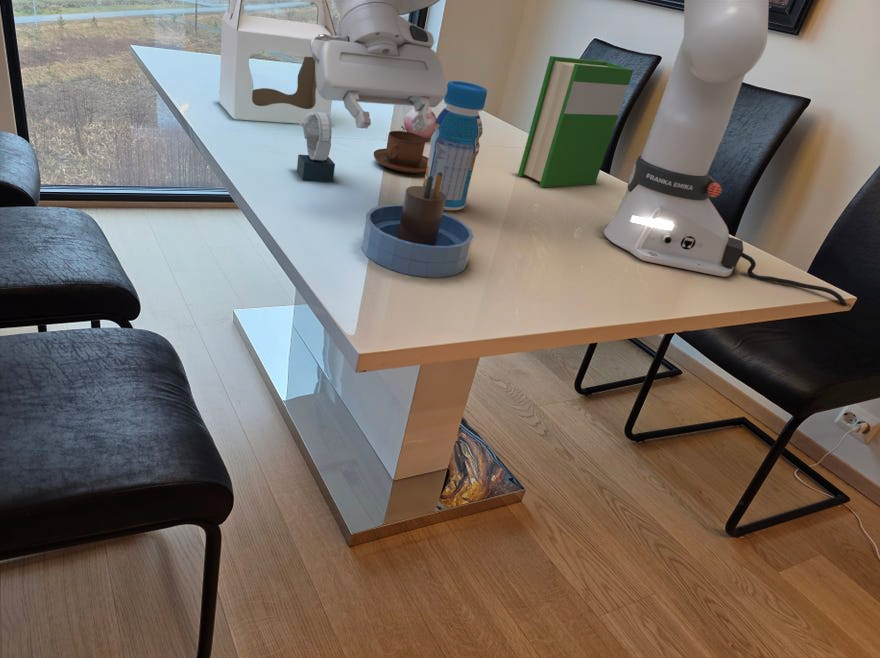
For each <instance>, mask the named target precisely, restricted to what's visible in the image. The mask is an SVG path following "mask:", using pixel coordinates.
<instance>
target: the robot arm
mask: <svg viewBox="0 0 880 658" xmlns="http://www.w3.org/2000/svg"><path fill="white" fill-rule="evenodd" d="M683 1H684V4H683V5H684V6H683V7H684V8H683V38H682V40H681V44H680V46H679V48H678V52H677V55H676V57H675V61H674V63H673V66H672V69H671V72H670V74H669V77H668V80H667V83H666V85H665V89H664V92H663V94H662V97H661V100H660V103H659V106H658V109H657V111H656V114H655V117H654V120H653V123H652V125H651V128H650V131H649V133H648V136H647V139H646V141H645V144H644V147H643V150H642V153H641V155H639V156H637V158H636V162H635V163H634V165H633V167H632V170H631V173H630V176H629V178H628V182H627V186H626V189H627V190H626V192H625V194H624V197H623V199H622V200H621V203H620V204H619V206H618V208H617V210H616V212H615V214H614V215H613V217H612V219H611V220H610V222H609V223H608V224H607V226H606V227H605V229H604V230H603V234H604V236H605V238H606V239H608V240H609V241H610V242H612V243H613V244H614V245H616V246H618V247H619V248H621V249H624V250H625V251H627V252H629V253H631V254H632V255H633V256H635V257H636V258H637V259H639V260H641V261H643V262H648V263H653V264H658V265H663V266H667V267H672V268H678V269H682V270H687V271H692V272H697V273H702V274H708V275H713V276H717V277H721V278H722V277H723V278H726V277H729V276H731V275H732V274H733V270H734V268H736V267H737V265H738V263H739V260H740V258H743V259H745V260H746V261H748V262H749V263H750V266H749V267H748V268H747V270H746V271H747V275H748V276H749V277H750V278H752V279H756V280H759V281H768V282H774V283H779V284H785V285H790V286H795V287H798V288H803V289H808V290H814V291H818V292H819V291H820V292H824V293H827V294H829V295H831V296H833V297H834V298H836V299H837V301H838V302H839V303H840V305H841V306H844V307H848V304H847V301H846V300H845V298H844V297H843V296H842V295H841V294H840V293H838V292H837V291H836V290H834V289H831V288H828V287H825V286H820V285H814V284H809V283H803V282H799V281H795V280H792V279H785V278H780V277H775V276H770V275H769V276H768V275H758V274H756V273H754V272H753V271H754V270H755V268H756V266H757V263H756V260H755V259H754V258H753V257H752V256H750V255H749V254H747V253H745V252H744V241H743V240H741V239H737V238H734V237H731V236H730V233H729V228H728V225H727V224H726V222H725V220H724V219H723V217H722V215H720V213H719V212H718V210H717V208H716V207H715V205H714V204H713V202H712V201H711V200H710V198H717V197H718V196H720V195H721V194H722V191H723V189H722V187H721V185H720V183H719V182H716V180H715V179H714V178H713V177H712V176H711V175H710V174H709V171H710V169H711V166H712V164H713V161H714V159H715V156H716V154H717V152H718V150H719V147H720V144H721V142H722V140H723V137H724V135H725V133H726V130H727V128H728V126H729V122H730V119H731V116H732V113H733V109H734V107H735V104H736V101H737V98H738V95H739V93H740V90H741V87H742V84H743V82H744V79H745V76H746V74H747V73H749V72H750V71H751V70H752V69H753V68H754V67H755V66H756V65H757V64H758V62H759V61H760V60H761V58H762V56H763V54H764V52H765V49H766V46H767V43H768V35H769V9H770V8H769V7H770V6H769V5H770V3H769V2H770V0H683ZM333 2H334V4H335V7H336V9H337V11H338V14H339V16H340V17H339V28H340V33H341V35H336V36H330V35H327V34H319V35H318V36H317V37H314V38H313V39H312V40H311V43H310V48H311V52H312V56H313V58H314V60H315V74H316V84H317V90H318V93H319V94H320V95H321V97H322V98H323V99H325V100H332V101H336V102H337V101H338V102H343V105H344V109H346V110H347V111H348V113H349V114H350V115H351V116H352V118H354V121H355V122H354V123H355V126H356V128H357V129H369V126H371V123H372V120H371V118H370V112H369V111H364V109H363V108H362V106H361V104H359V103H364V104H365V103H366V104H368V103H369V104H378V105H379V104H381V105H395V106H408V107H413V109H414V108H415V111H417V112H418V111H419V112H418V115H417V116H416V117H415V118H414V119H413V120H412V125H413V126H414V127H413V129H414V131H424V130H425V129H426V128H427V120H426V114H427V111H428V108H436V107H437V106H438V105H440V103H442V101H444V98H445V96H446V94H447V91H448V88H447V84H448V82H447V79H446V75H445V71H444V68H443V65H442V62H441V59H440V57H439V56H438V54H437V52H436V51H435V50H433V49H432V47H433V46H434V44H435V40H434V39H435V38H434V35H433V34H432V33H431V32H430V31H429V30H427V29H425V28H422V27H420V26H419V25H418V26H417V25H415V24H414V23H412V22H410V21H409V20H407V19H405V18H403V17H402V16H403V15H408V14H412V13H415V12H418V11H421V10H423V9H427V8H430V7H431V6H433V5H436V4H437V3H439V2H440V0H333ZM744 503H745V502H744V501H743V500H739V501H738V505H739V506H743V505H744Z"/></svg>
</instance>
